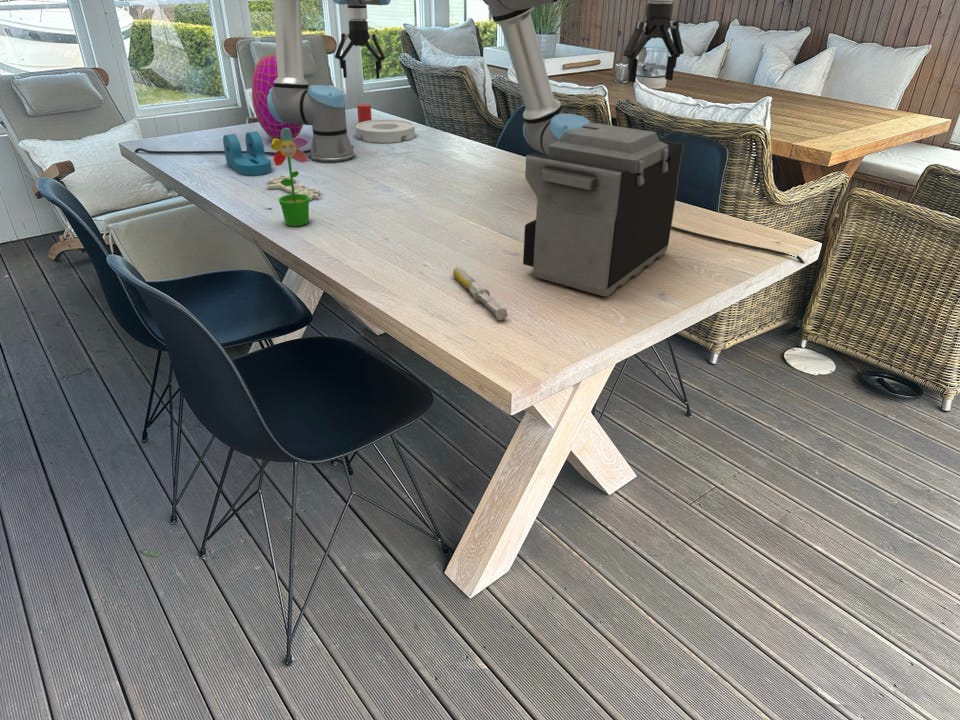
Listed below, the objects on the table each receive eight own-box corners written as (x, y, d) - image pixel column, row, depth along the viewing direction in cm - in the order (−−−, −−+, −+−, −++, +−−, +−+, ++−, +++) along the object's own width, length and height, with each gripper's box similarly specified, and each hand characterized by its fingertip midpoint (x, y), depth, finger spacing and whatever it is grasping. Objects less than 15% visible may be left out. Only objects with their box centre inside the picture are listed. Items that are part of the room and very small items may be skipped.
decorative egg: (293, 132, 276) (283, 50, 261) (319, 140, 264) (310, 56, 249) (249, 139, 265) (236, 54, 250) (273, 148, 253) (261, 60, 238)
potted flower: (284, 229, 179) (270, 130, 166) (277, 220, 185) (263, 124, 172) (319, 224, 183) (308, 127, 170) (311, 215, 188) (300, 121, 176)
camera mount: (227, 164, 233) (221, 132, 227) (257, 160, 238) (252, 129, 233) (244, 176, 220) (239, 143, 215) (276, 172, 225) (271, 139, 220)
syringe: (449, 274, 155) (449, 263, 153) (465, 272, 156) (464, 260, 154) (490, 323, 135) (491, 310, 133) (508, 319, 136) (508, 307, 134)
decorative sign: (256, 179, 214) (285, 174, 220) (256, 182, 215) (285, 177, 220) (297, 199, 197) (327, 193, 203) (297, 203, 198) (328, 196, 203)
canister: (360, 123, 293) (358, 103, 290) (373, 123, 293) (371, 104, 289) (357, 125, 289) (355, 106, 285) (370, 126, 288) (369, 106, 284)
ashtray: (362, 128, 283) (361, 118, 281) (418, 129, 282) (417, 119, 280) (351, 142, 263) (350, 131, 261) (411, 143, 262) (411, 132, 260)
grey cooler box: (592, 232, 179) (603, 112, 164) (672, 251, 168) (693, 125, 153) (515, 277, 153) (520, 140, 138) (603, 303, 142) (620, 157, 127)
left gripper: (390, 20, 273) (393, 77, 284) (329, 18, 275) (333, 75, 285) (387, 21, 267) (390, 79, 277) (324, 19, 268) (329, 78, 279)
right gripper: (686, 1, 206) (675, 76, 217) (616, 2, 197) (608, 81, 208) (703, 2, 200) (691, 80, 211) (631, 3, 192) (622, 84, 202)
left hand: (361, 77), depth 281 cm, fingers open, 13 cm apart
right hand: (650, 80), depth 210 cm, fingers open, 13 cm apart
